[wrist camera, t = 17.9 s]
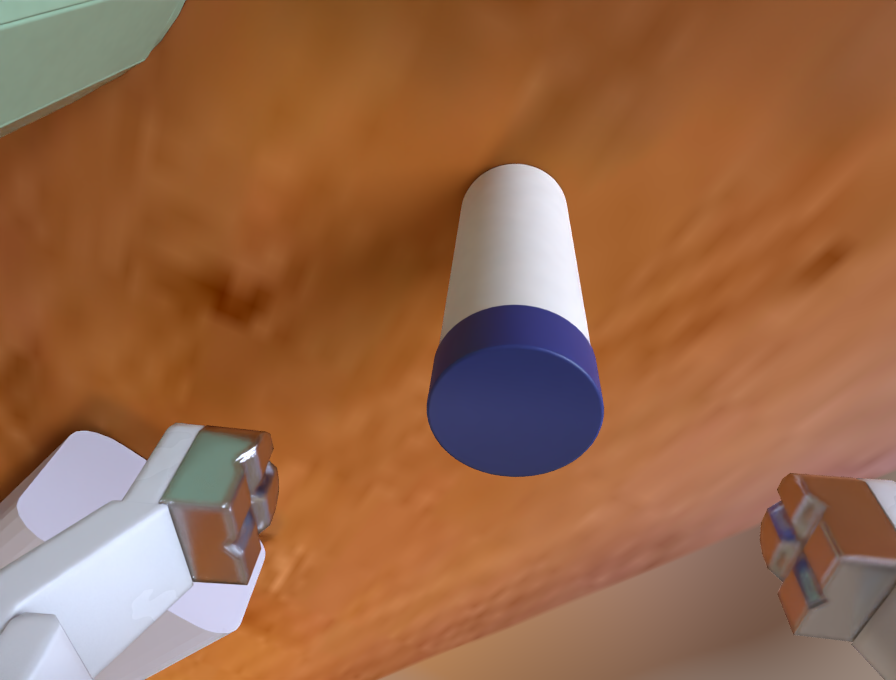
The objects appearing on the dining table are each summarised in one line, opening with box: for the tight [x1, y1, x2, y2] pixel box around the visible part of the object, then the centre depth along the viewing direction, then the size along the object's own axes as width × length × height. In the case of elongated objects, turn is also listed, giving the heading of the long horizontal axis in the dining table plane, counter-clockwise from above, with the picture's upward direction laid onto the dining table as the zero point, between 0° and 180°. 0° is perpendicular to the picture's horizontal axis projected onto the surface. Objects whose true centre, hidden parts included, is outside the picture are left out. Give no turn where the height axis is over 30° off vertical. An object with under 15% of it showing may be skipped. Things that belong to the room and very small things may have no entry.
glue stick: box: [427, 164, 604, 477], centre depth 15 cm, size 3×3×8 cm
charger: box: [0, 431, 265, 680], centre depth 27 cm, size 5×9×15 cm
